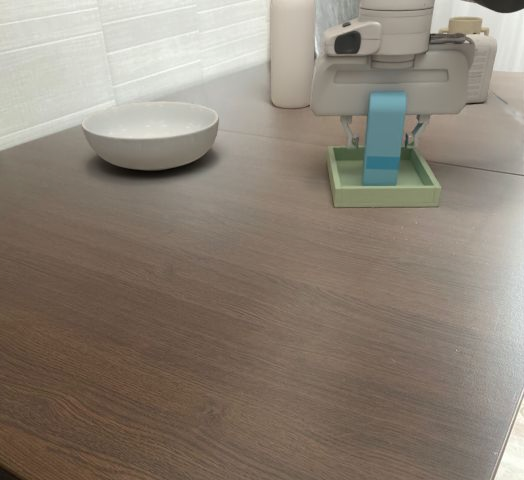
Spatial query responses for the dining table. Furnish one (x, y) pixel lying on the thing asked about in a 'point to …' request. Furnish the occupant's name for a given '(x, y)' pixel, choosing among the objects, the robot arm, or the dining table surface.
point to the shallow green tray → (402, 195)
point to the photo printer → (481, 67)
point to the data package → (383, 138)
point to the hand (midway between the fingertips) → (381, 147)
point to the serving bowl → (151, 134)
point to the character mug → (465, 26)
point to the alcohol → (292, 51)
